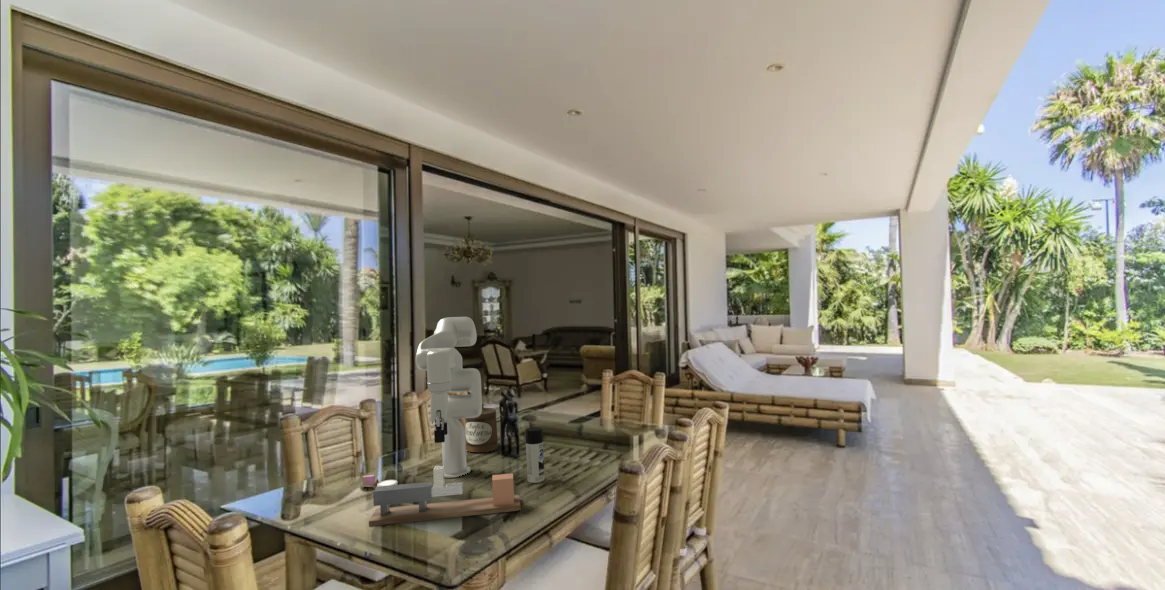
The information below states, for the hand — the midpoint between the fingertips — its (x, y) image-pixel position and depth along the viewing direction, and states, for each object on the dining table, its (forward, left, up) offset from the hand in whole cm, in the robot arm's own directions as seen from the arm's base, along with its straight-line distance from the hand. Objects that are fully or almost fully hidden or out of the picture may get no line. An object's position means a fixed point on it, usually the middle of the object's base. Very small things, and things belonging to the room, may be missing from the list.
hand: (441, 438), depth 173 cm
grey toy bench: (0, -13, -23) cm, 26 cm away
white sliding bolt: (0, -7, -19) cm, 20 cm away
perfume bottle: (-33, -29, -25) cm, 50 cm away
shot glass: (-14, -21, -25) cm, 35 cm away
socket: (0, +20, -23) cm, 30 cm away
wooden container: (-72, +10, -25) cm, 77 cm away
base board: (0, +1, -25) cm, 25 cm away
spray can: (-22, +32, -25) cm, 46 cm away
